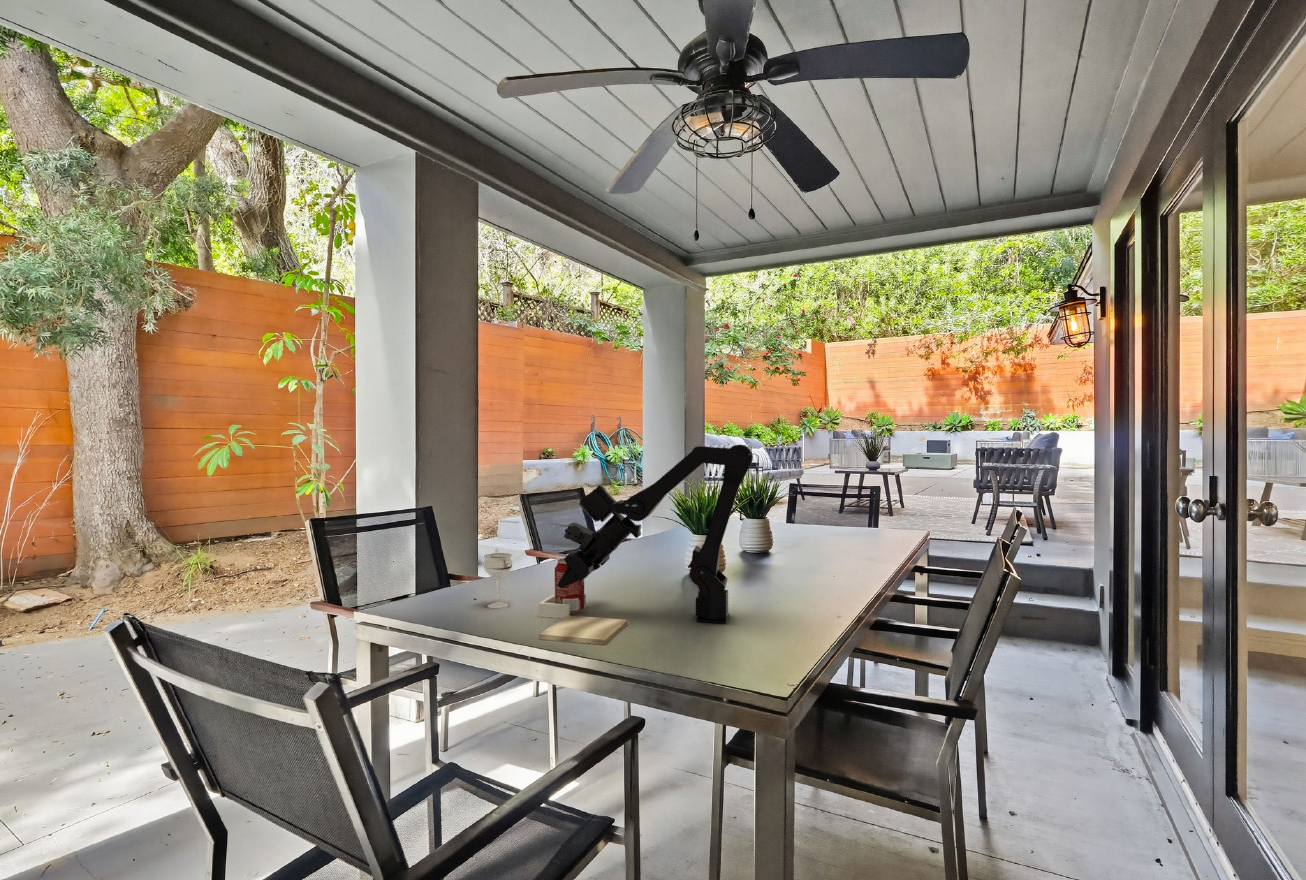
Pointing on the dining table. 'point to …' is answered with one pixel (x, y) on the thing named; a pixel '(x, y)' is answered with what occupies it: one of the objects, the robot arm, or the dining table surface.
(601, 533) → the robot arm
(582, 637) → the pad
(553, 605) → the block
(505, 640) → the dining table surface
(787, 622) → the dining table surface
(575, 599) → the soda can
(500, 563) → the wineglass
